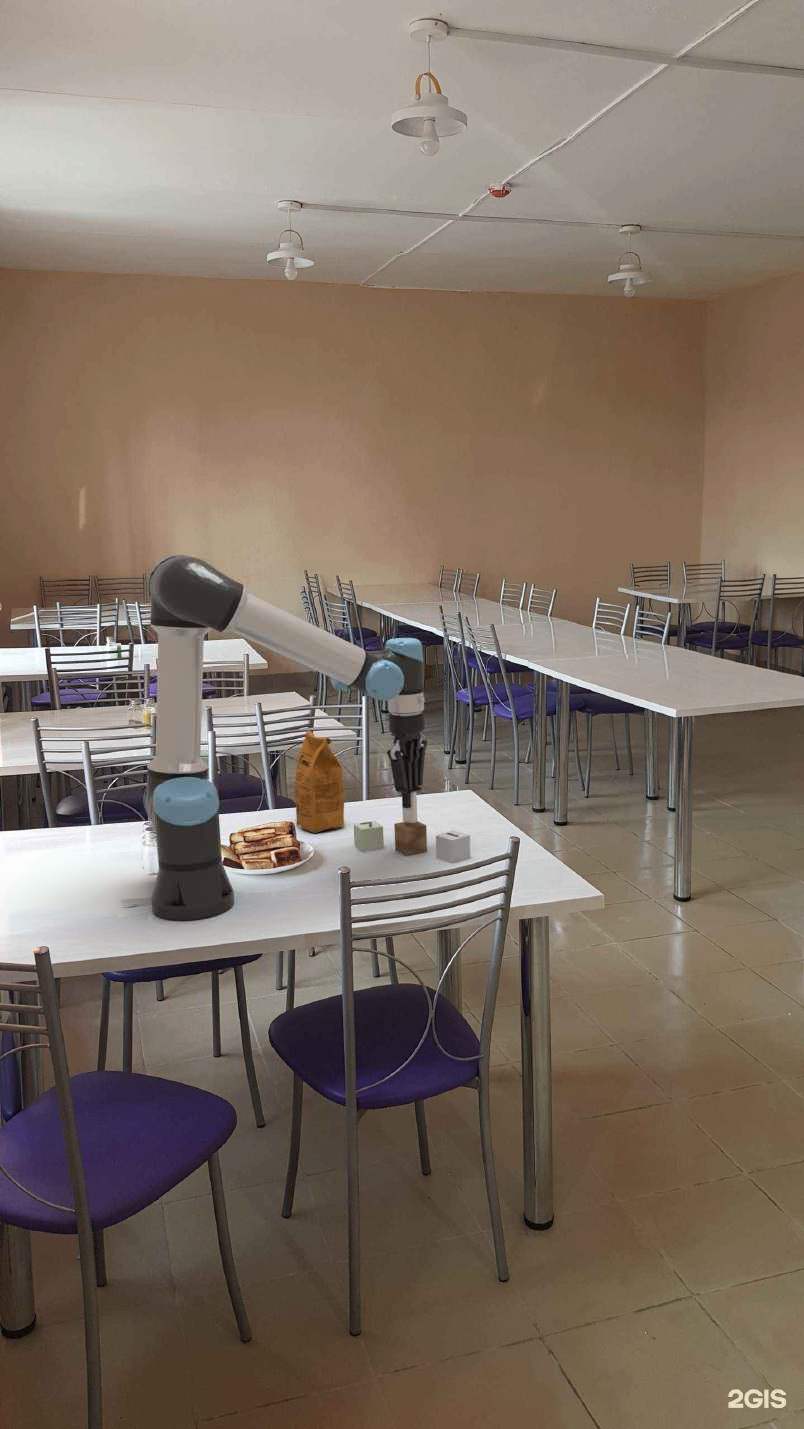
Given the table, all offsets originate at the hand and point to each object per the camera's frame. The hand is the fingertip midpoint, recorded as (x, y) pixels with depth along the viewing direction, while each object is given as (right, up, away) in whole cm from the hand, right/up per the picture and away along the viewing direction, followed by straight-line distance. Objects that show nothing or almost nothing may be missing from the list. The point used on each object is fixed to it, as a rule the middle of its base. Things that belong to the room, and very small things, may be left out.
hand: (410, 821), depth 226 cm
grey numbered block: (+9, -7, -4) cm, 12 cm away
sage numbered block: (-9, -6, +5) cm, 12 cm away
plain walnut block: (0, -7, +1) cm, 7 cm away
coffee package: (-21, -4, +22) cm, 31 cm away
